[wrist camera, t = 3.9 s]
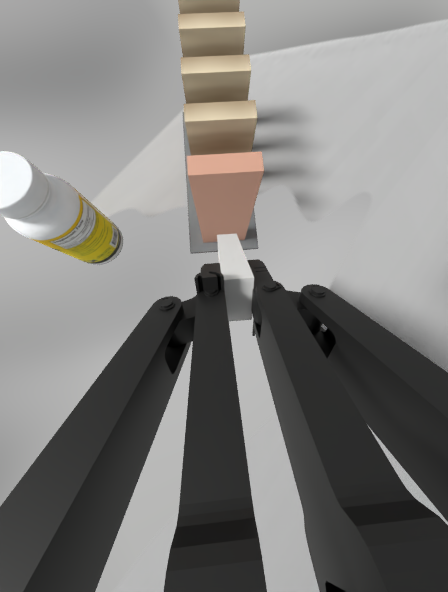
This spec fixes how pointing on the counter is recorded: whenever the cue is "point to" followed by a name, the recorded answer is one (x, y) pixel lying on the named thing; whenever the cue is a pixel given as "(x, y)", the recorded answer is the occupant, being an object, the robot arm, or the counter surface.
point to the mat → (194, 227)
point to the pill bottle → (54, 212)
